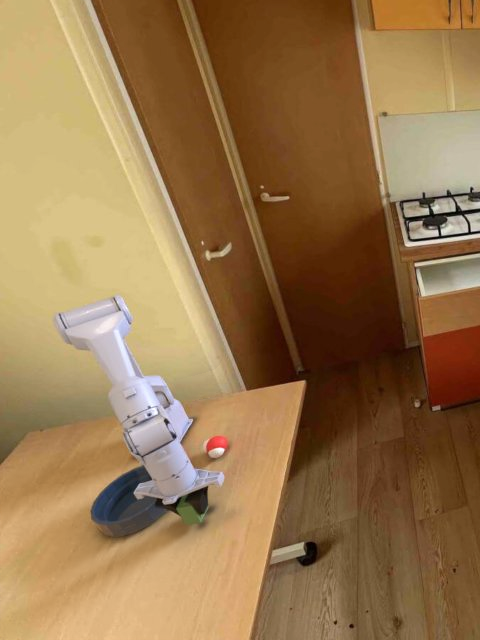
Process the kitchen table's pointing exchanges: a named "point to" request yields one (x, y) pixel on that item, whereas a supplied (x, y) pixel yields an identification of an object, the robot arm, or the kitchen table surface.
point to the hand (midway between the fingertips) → (195, 510)
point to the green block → (189, 512)
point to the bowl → (125, 505)
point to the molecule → (215, 446)
